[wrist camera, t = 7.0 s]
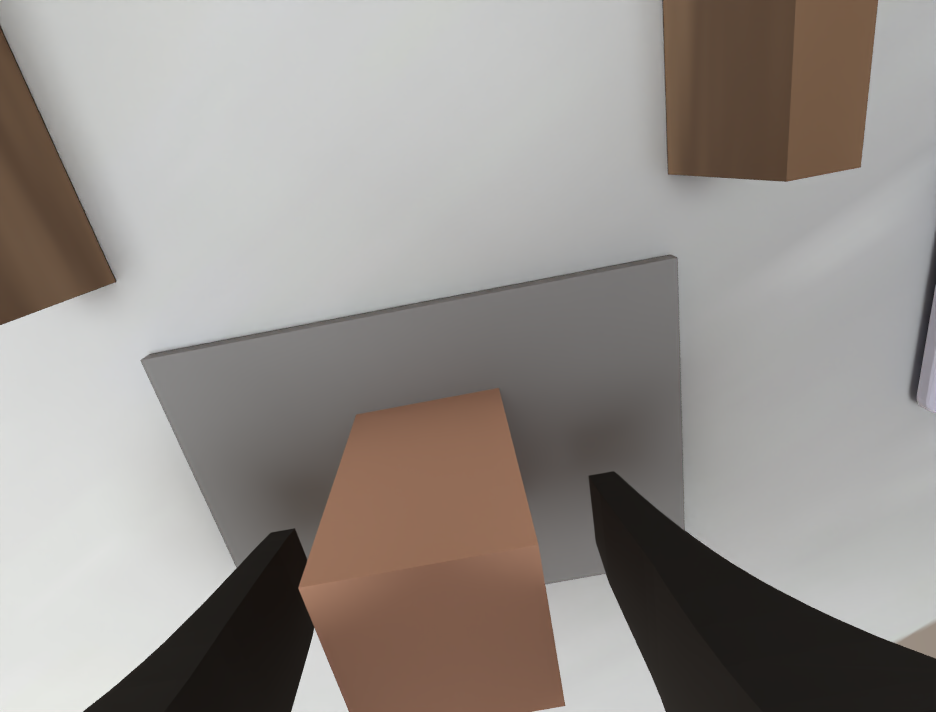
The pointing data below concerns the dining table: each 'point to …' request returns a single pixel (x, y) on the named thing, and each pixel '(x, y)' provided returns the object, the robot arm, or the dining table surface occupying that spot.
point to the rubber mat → (440, 376)
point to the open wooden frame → (687, 108)
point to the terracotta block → (432, 566)
